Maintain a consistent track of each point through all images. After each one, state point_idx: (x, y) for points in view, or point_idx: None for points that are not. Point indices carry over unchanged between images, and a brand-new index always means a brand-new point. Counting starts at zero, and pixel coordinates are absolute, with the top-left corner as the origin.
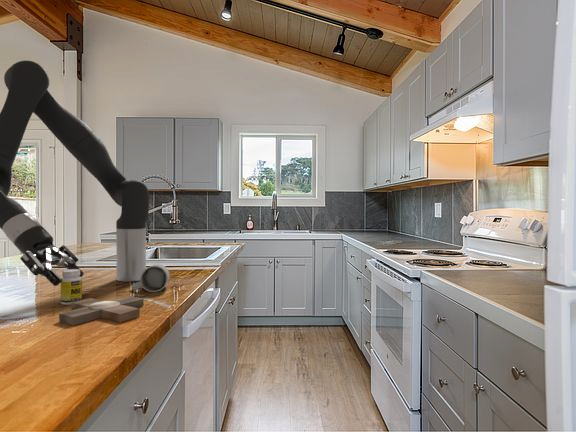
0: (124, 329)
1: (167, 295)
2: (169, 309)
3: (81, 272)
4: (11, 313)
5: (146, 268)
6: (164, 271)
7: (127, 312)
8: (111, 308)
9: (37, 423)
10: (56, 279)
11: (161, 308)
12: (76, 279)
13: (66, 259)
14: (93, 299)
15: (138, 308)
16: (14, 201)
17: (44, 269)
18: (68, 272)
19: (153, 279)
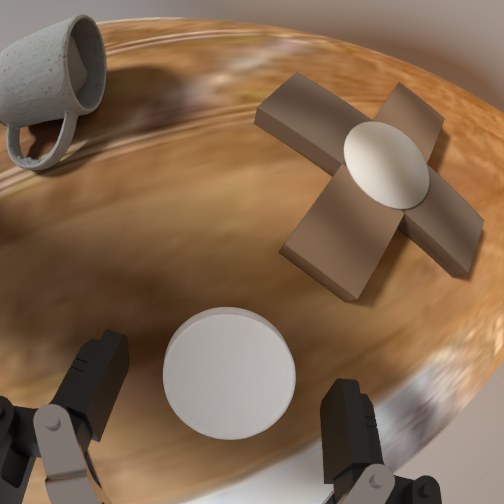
0: (461, 121)
1: (164, 53)
2: (325, 43)
3: (115, 341)
4: None
5: (63, 51)
6: (91, 19)
7: (427, 105)
8: (412, 140)
9: None
10: (364, 399)
11: (317, 54)
12: (264, 321)
13: (90, 481)
14: (310, 224)
15: (398, 83)
16: None
17: (396, 483)
18: (294, 372)
19: (75, 71)
